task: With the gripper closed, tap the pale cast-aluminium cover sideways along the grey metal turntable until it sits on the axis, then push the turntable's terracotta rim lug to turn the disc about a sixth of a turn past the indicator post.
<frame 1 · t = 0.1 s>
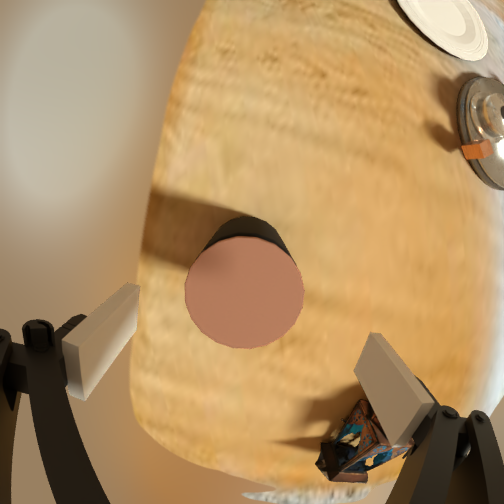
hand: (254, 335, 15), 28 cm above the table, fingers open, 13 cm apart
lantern: (370, 415, 51), on the table
cover: (486, 117, 34), point 3 cm above the table, touching turntable
plate: (440, 12, 33), on the table
coffee jar: (246, 251, 43), on the table
turntable base: (495, 133, 38), on the table
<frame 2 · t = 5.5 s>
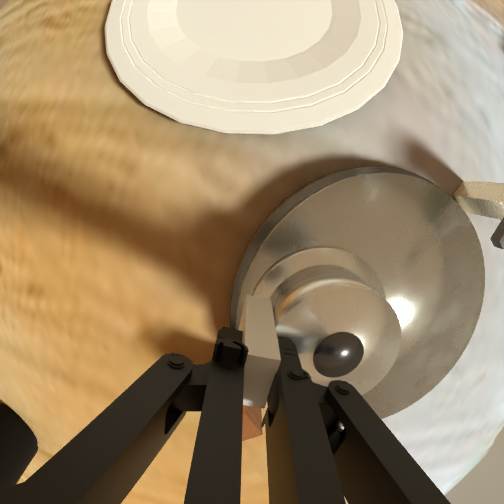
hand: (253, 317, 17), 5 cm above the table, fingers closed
cover: (317, 313, 20), point 3 cm above the table, touching gripper
plate: (254, 6, 18), on the table
coffee jar: (16, 425, 28), on the table
turntable: (374, 343, 19), point 5 cm above the table, hinge at 0.0°
turntable base: (369, 308, 23), on the table
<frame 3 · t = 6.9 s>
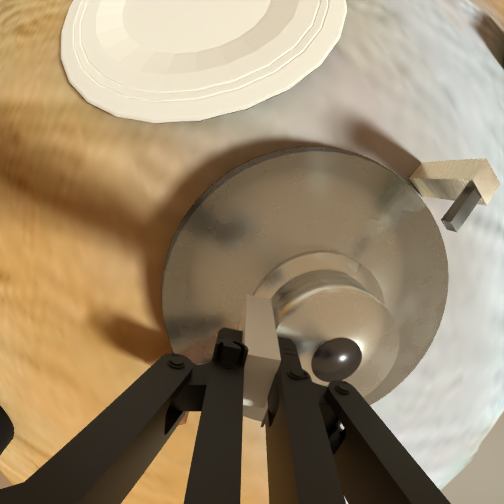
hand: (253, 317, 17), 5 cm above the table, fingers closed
cover: (316, 317, 20), point 3 cm above the table, touching gripper, turntable
plate: (195, 0, 17), on the table
turntable: (305, 336, 18), point 5 cm above the table, hinge at 0.3°, touching cover
turntable base: (312, 299, 23), on the table
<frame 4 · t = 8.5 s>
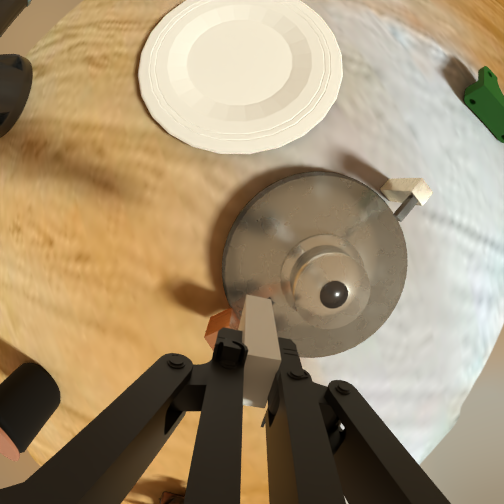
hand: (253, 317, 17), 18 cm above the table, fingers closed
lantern: (186, 502, 48), on the table
cover: (322, 276, 32), point 3 cm above the table, touching turntable
plate: (239, 62, 30), on the table
coffee jar: (42, 382, 41), on the table
clamp: (485, 107, 30), on the table
turntable: (314, 285, 31), point 5 cm above the table, hinge at 0.4°, touching cover
turntable base: (317, 267, 35), on the table
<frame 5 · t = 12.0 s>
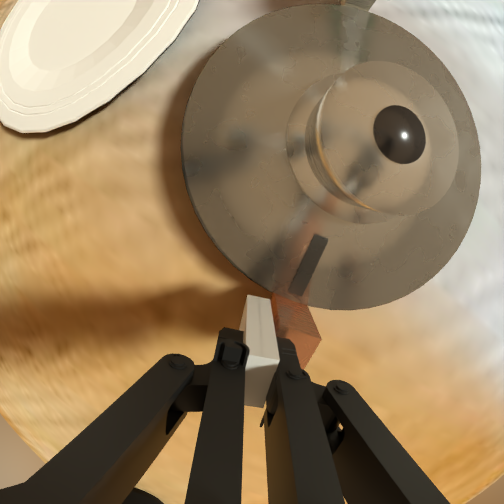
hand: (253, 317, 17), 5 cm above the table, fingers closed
cover: (360, 146, 17), point 3 cm above the table, touching turntable
plate: (82, 17, 17), on the table
coffee jar: (137, 498, 30), on the table
turntable: (361, 163, 15), point 5 cm above the table, hinge at 4.1°, touching cover, gripper
turntable base: (346, 149, 19), on the table
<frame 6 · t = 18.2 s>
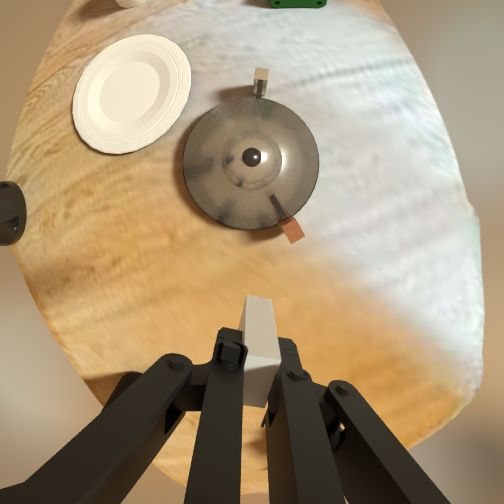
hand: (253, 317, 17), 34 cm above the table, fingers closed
cover: (251, 160, 45), point 3 cm above the table, touching turntable
plate: (129, 92, 46), on the table
coffee jar: (142, 387, 59), on the table
turntable: (255, 168, 44), point 5 cm above the table, hinge at 57.3°, touching cover
turntable base: (250, 162, 48), on the table
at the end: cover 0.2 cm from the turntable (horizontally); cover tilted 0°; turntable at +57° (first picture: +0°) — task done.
